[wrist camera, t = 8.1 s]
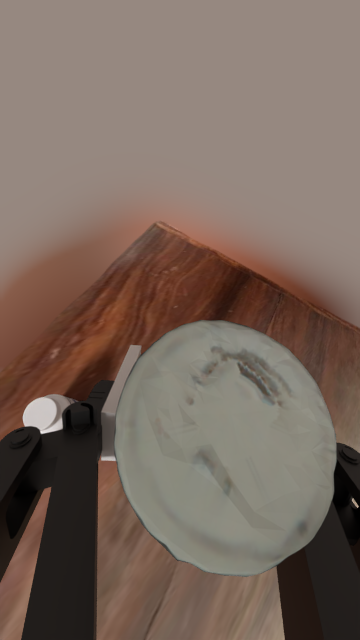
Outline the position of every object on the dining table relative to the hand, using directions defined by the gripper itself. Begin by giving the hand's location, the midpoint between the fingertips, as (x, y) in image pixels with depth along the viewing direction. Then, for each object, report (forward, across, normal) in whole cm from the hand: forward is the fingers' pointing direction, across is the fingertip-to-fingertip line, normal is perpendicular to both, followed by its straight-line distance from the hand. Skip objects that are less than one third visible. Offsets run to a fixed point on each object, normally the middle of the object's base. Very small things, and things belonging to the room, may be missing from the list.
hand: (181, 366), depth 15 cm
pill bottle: (+16, -16, -20) cm, 30 cm away
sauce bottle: (+4, 0, -9) cm, 9 cm away
